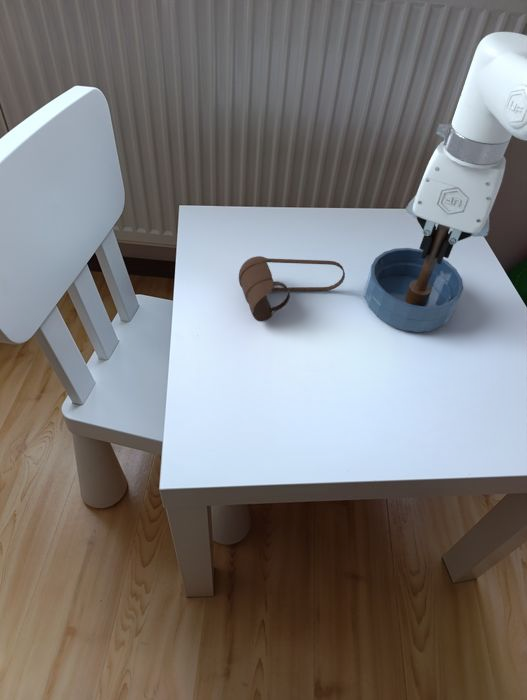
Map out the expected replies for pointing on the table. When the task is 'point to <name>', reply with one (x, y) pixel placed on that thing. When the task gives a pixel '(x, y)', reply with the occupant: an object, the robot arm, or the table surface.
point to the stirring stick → (427, 270)
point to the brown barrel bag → (271, 284)
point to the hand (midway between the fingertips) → (432, 255)
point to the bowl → (392, 285)
